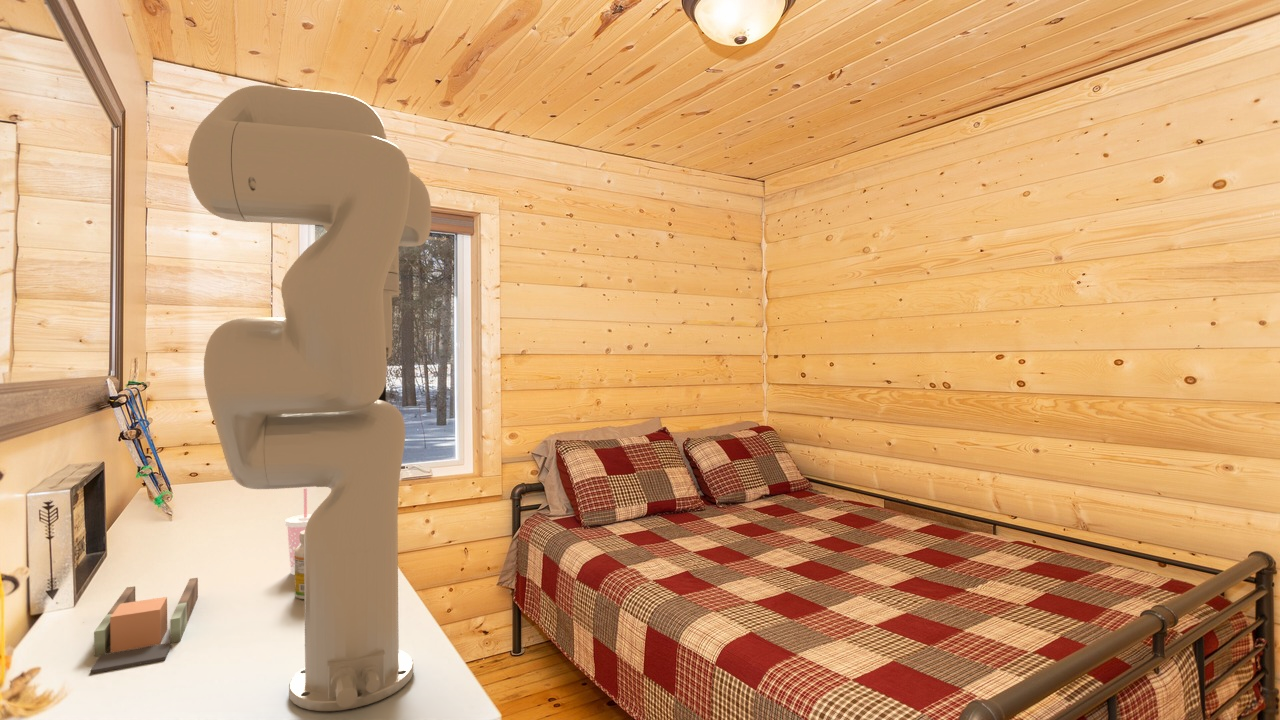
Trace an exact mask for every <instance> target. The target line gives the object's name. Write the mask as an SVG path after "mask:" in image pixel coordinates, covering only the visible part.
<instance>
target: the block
mask: <svg viewBox="0 0 1280 720" xmlns="http://www.w3.org/2000/svg"><path fill="white" fill-rule="evenodd" d="M167 631H168V596H163V597H157V598H156V597H155V598H151V599H144V600H138V601H137V600H135V602H129V603H122V604H120V605H119V606H118V607H117V609H116V610H115V611H114V613H113V614H112V615H111V617H110V636H111V646H110V653H114V652H120V651H125V650H131V649H137V648H143V647H148V646H154V645H160V644H162V641H163V639H164V638H165V636H166V634H167Z"/></svg>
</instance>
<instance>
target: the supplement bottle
mask: <svg viewBox="0 0 1280 720" xmlns="http://www.w3.org/2000/svg"><path fill="white" fill-rule="evenodd" d="M304 533H305V530H303V531H301V532H300V537H299V540H300V542H301V545H299V546H298V547H297V548H296V549H295V575H294V595H295V598H297V599H300V600H305V593H304Z"/></svg>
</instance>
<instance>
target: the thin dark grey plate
mask: <svg viewBox="0 0 1280 720" xmlns="http://www.w3.org/2000/svg"><path fill="white" fill-rule="evenodd" d="M171 648H172V643H171V642H167V643H161V644H158V645H152V646H146V647H140V648H135V649H129V650H123V651H117V652H112V653H111V652H108V653H105V654H102V655H99V656H98V658H97V660H96V661H95V663H94V665H93V666H92V667H91V668H90V670H89V671H90V673H89V674H90V675H91V674H97V673H102V672H109V671H114V670H119V669H123V668H124V669H125V668H130V667H135V666H140V665H141V666H142V665H147V664H152V663H156V662H162V661H165V660H166V659H167V657H168V654H169V652H170V649H171Z"/></svg>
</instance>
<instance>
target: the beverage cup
mask: <svg viewBox="0 0 1280 720" xmlns="http://www.w3.org/2000/svg"><path fill="white" fill-rule="evenodd" d="M307 495H308V489H307V488H303V514H300V515H299V514H298V515H294V516H291V517H288V518H286V519H285V520H284V523H285V526H286V530H287V542H288V553H289V555H288V556H289V566H290V568H289V569H290V573H291V575H294V576H295V549H296V548H297V547H298V546H299V545H301V542H300V540H299V537H300V532H301V531H303V530H305V528H306V525H307V523H308V520H309V519H310V517H311V515H312V514H313V513H310V514H309V513H308V496H307Z"/></svg>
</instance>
